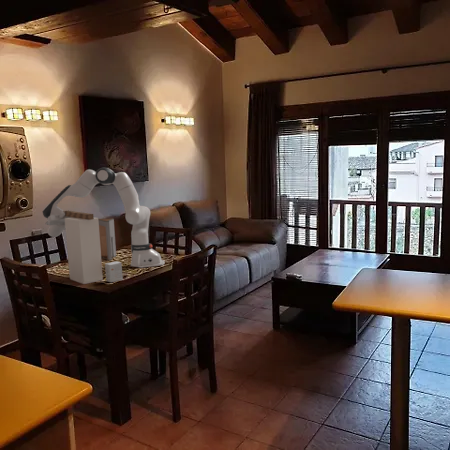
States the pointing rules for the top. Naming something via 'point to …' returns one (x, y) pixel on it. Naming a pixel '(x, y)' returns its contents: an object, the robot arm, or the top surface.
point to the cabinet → (107, 238)
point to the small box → (113, 271)
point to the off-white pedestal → (83, 250)
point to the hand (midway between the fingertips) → (68, 212)
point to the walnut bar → (79, 215)
